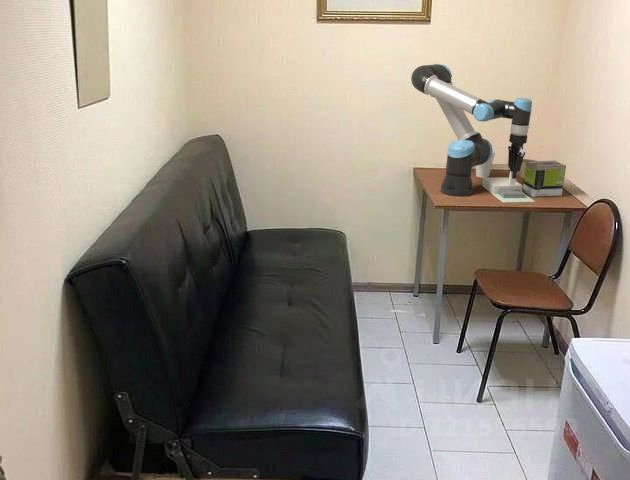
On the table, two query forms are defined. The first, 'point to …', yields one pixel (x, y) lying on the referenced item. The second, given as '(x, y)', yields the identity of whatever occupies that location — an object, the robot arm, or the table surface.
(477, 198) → the table surface
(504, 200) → the mat
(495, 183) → the plate
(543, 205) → the table surface
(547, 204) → the table surface
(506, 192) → the rectangular block
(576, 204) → the table surface
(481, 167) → the foam cup
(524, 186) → the tea box
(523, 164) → the flower pot
